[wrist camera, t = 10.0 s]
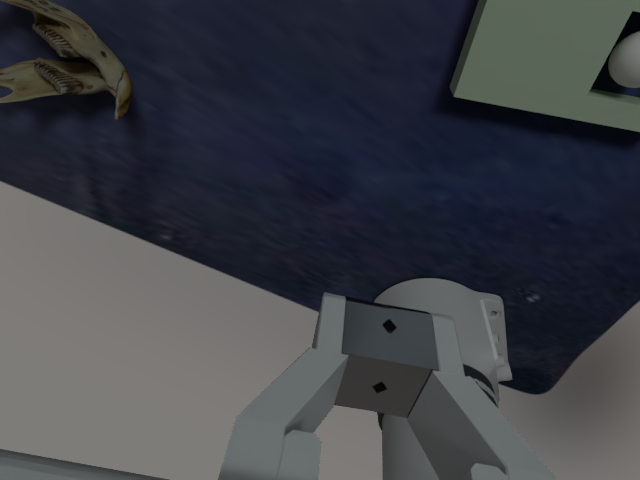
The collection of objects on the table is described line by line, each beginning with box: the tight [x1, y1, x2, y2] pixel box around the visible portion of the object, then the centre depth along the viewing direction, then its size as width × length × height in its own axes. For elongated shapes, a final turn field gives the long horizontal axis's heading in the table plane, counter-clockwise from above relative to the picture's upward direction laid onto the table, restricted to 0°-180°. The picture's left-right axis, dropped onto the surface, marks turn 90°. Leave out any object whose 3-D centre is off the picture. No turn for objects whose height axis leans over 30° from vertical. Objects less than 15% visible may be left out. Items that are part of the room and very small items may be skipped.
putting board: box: [450, 0, 640, 132], centre depth 33 cm, size 18×10×2 cm, turn 81°
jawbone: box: [0, 0, 131, 120], centre depth 34 cm, size 9×15×10 cm
